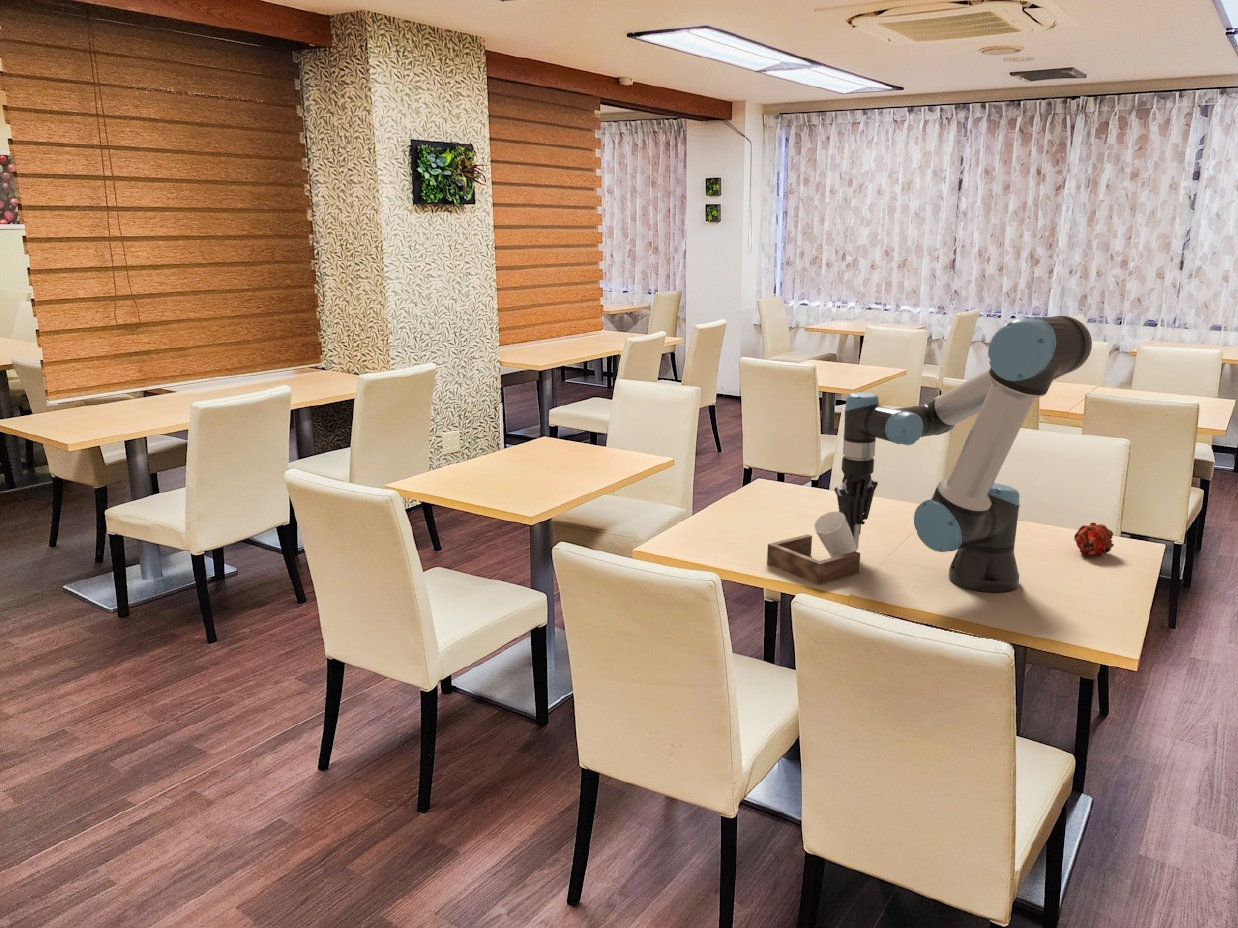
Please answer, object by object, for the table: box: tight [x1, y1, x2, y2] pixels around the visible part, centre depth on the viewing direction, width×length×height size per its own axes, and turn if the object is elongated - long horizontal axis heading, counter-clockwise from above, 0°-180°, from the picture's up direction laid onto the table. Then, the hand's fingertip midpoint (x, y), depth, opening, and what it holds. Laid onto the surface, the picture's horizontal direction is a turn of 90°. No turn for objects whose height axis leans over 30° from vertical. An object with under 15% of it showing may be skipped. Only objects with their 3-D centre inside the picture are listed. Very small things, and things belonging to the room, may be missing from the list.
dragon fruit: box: [1073, 522, 1115, 557], centre depth 232 cm, size 8×8×12 cm
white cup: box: [813, 510, 858, 558], centre depth 226 cm, size 8×8×10 cm
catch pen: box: [766, 534, 861, 586], centre depth 222 cm, size 17×14×5 cm
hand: (852, 548), depth 231 cm, fingers closed
